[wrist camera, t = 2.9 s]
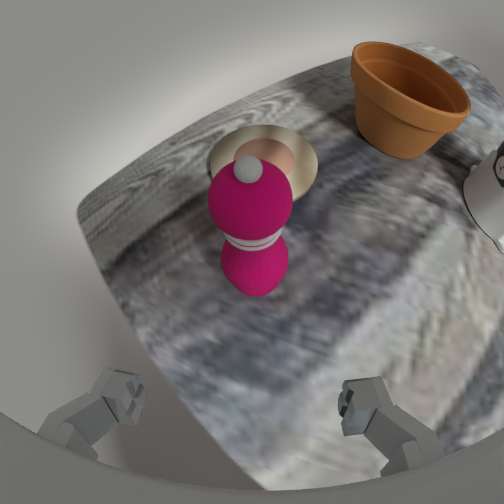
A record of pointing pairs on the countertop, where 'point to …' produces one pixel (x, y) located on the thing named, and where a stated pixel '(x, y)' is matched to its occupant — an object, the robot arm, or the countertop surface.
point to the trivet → (270, 153)
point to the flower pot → (404, 99)
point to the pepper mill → (252, 222)
